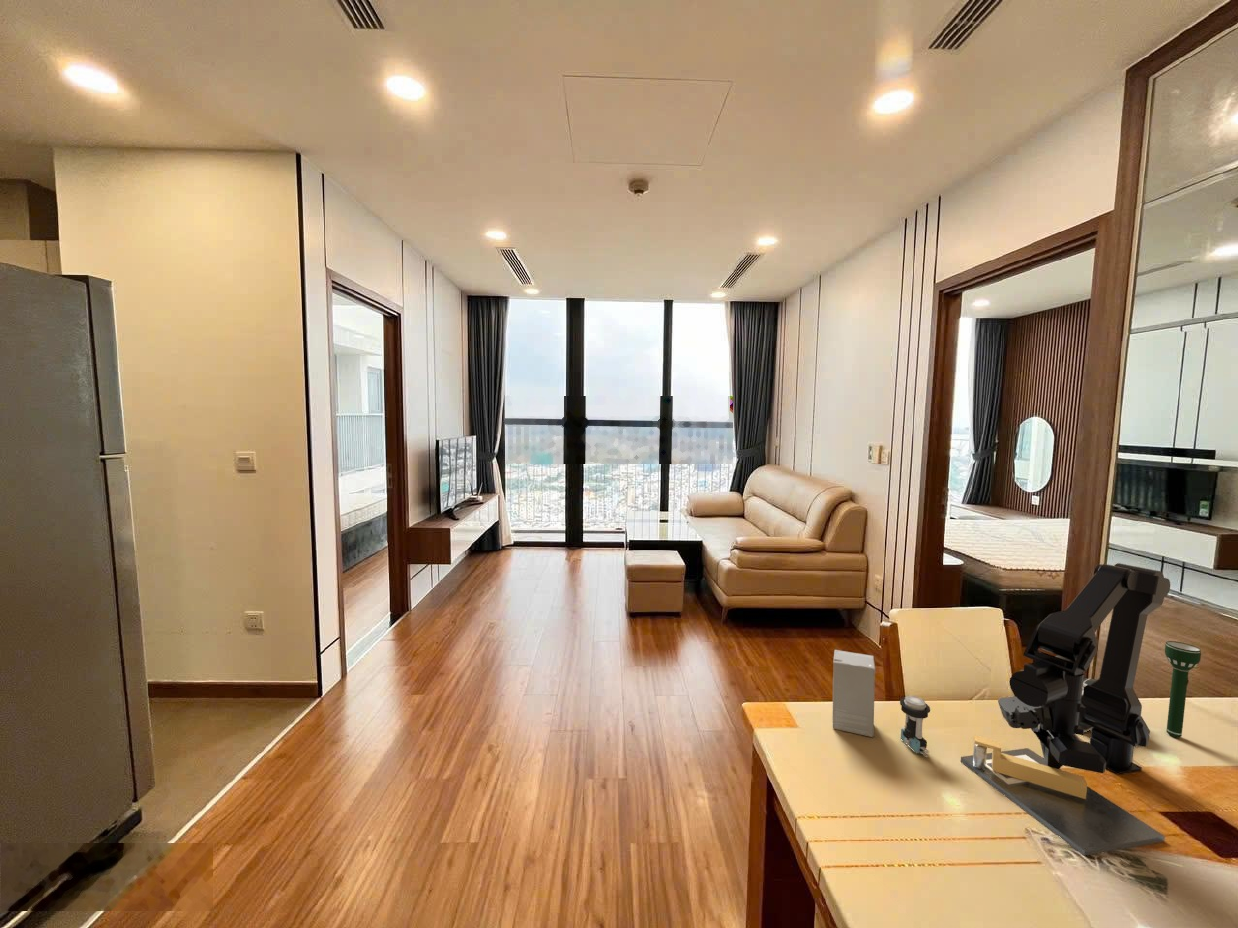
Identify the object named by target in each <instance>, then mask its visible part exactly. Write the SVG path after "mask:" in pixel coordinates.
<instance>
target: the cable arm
mask: <svg viewBox="0 0 1238 928" xmlns="http://www.w3.org/2000/svg"><path fill="white" fill-rule="evenodd" d="M973 741H974V742H975V744H977V745H980V746H984V747H987V749H991V751H992V752H991V753H992V769H993V771H995V772H998V773H1001V774H1005V775H1008V776H1011V777H1015V778H1018V779H1021V780H1024V781H1028V782H1031V783H1034V784H1038V785H1041V786H1044V787H1047V788H1051V789H1054V790H1057V791H1060V792H1064V793H1067V794H1070V795H1074V796H1077V797H1080V798H1083V799H1086V793H1087V786H1088V783H1087V780H1086V778H1085V776H1083V775H1080V774H1076V773H1073V772H1069V771H1066V770H1063V769H1061V770H1059V769H1056V768H1052V767H1049V766H1046V765H1042V764H1039V763H1035V762H1032V761H1028V760H1025V759H1021V758H1018V757H1014V756H1011V755H1007V754H1004V753H1001V751H1002V746H1001V745H1002V744H1001V742H1000V741H998V740H994V739H990V738H987V737H984V736H980V735H975V734H974V735H973ZM974 742H973V743H974Z"/></svg>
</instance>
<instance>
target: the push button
mask: <svg viewBox="0 0 1238 928" xmlns="http://www.w3.org/2000/svg"><path fill="white" fill-rule="evenodd" d="M899 704H900V707H901V708H900V709H901V711H902V712H903V713H904V714H905V724H904V728H901V729H900V740H901V739H902V740H903V741H904V743H903V745H904V744H905V745H906V743H907V745H906V746H907V747H908V745H909V746H910V747H911V748H912V749H913V750H914V751H915V752H916V753H919V754H922V755H923V757H925V758H928V757H930V756H929V754H927V753H930V751H929V750H928V749H927V746H928V744H927V743H928V742H927V740H926V739H925V737H923V720H924V719H926V718H929V713H930V712H931V707H930V705H928V704H927V703H926V701H925V699H922V698H921V697H918V696H916V695H906V696H905V697H903V698H901V699H899ZM905 745H904V746H905ZM906 746H905V747H906ZM907 747H906V748H907ZM908 748H909V747H908ZM912 749H911V750H912ZM913 750H912V751H913ZM914 751H913V752H914ZM915 752H914V753H915ZM916 753H915V754H916Z"/></svg>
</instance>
